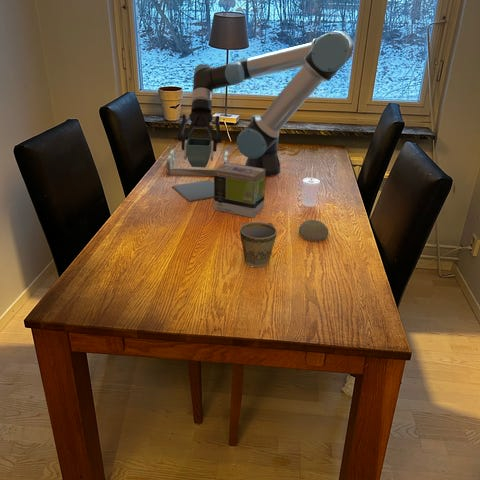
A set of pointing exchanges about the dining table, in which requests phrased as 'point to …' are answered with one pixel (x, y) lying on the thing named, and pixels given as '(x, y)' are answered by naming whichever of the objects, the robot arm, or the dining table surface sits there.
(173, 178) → the dining table surface
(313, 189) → the beverage cup
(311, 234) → the sea urchin shell
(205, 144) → the flower pot
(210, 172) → the holder
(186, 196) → the mat
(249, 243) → the ceramic cup
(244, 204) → the tea box
